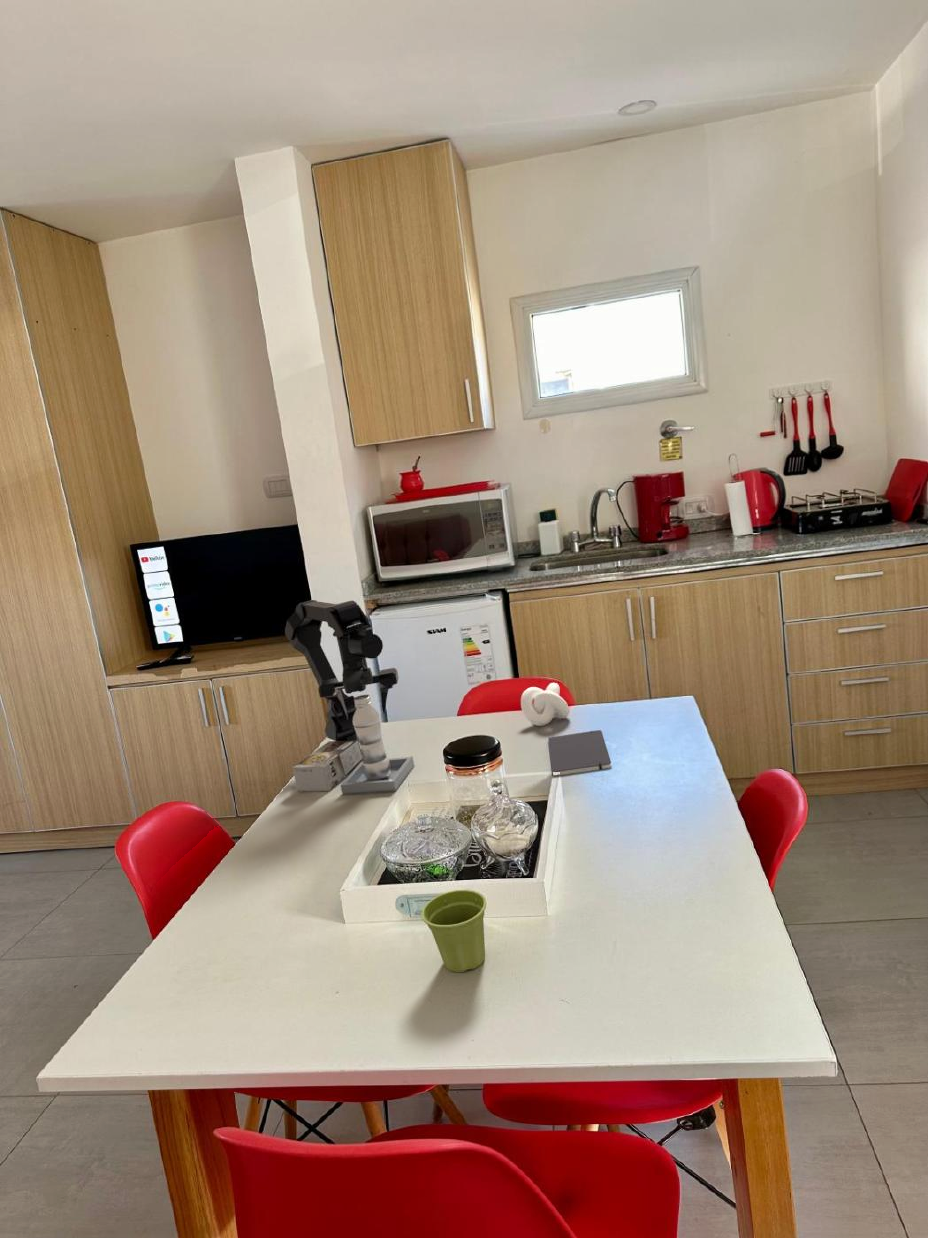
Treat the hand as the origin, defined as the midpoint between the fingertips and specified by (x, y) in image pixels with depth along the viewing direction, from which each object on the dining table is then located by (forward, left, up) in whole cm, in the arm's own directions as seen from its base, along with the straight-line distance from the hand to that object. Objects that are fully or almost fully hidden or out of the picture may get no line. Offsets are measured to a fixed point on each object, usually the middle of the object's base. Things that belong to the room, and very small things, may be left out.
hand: (365, 716), depth 207 cm
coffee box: (+13, -11, -10) cm, 20 cm away
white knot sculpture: (-22, +40, -13) cm, 48 cm away
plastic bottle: (+9, +4, -13) cm, 16 cm away
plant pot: (+78, +42, -13) cm, 89 cm away
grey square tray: (+9, +4, -13) cm, 16 cm away
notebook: (+2, +50, -14) cm, 52 cm away
